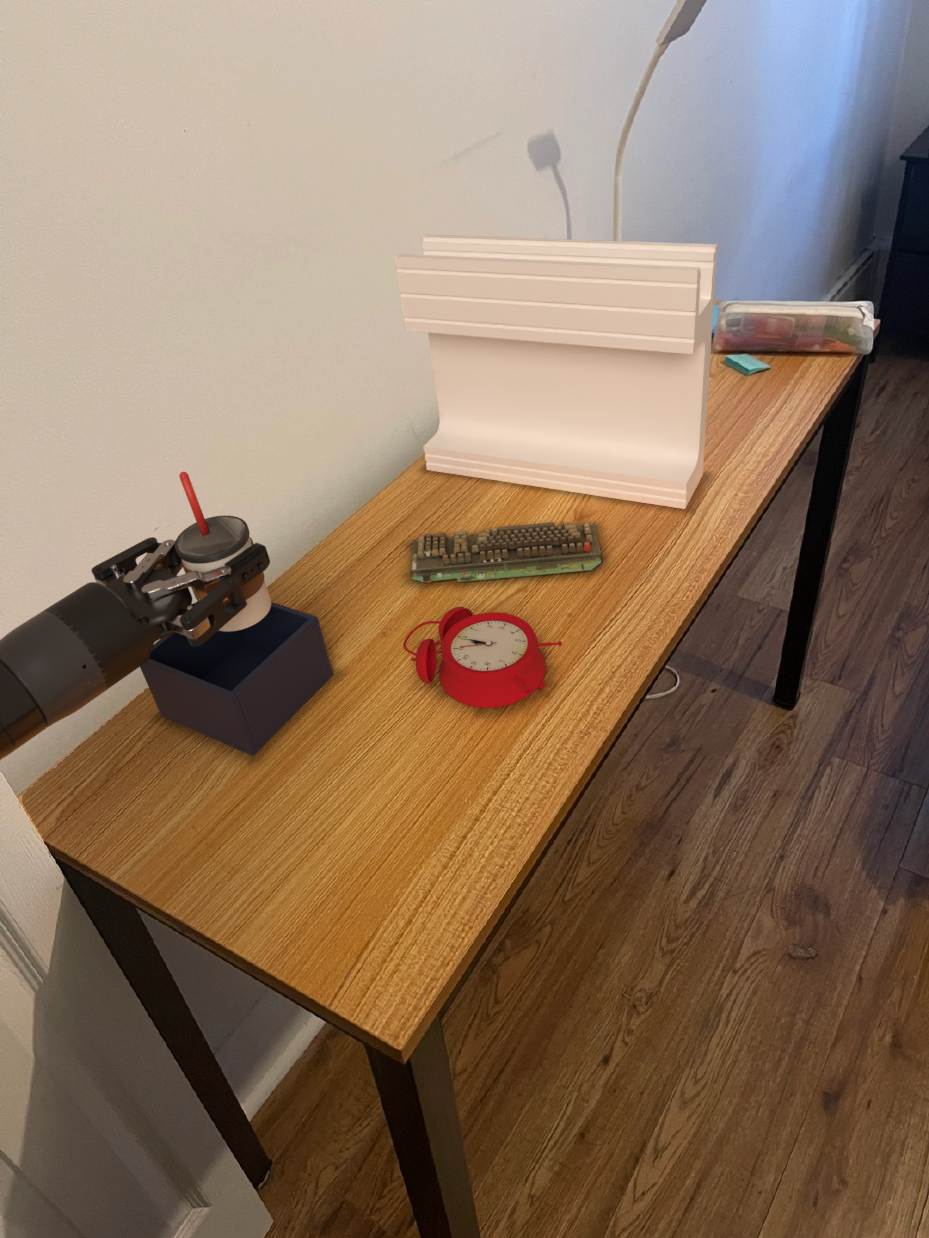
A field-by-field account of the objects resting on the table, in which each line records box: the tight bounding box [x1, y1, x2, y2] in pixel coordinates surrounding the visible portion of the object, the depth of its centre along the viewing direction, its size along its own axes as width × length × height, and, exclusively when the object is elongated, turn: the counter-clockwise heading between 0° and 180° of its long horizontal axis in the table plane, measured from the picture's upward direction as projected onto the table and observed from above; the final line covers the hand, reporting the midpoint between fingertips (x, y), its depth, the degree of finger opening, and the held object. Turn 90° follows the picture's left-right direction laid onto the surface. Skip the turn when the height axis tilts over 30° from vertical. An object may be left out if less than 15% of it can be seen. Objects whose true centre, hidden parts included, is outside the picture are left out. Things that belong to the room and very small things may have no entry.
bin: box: [139, 601, 334, 757], centre depth 89 cm, size 12×12×8 cm
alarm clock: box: [403, 606, 563, 709], centre depth 89 cm, size 10×6×15 cm
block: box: [394, 234, 718, 510], centre depth 109 cm, size 35×8×28 cm, turn 64°
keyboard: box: [409, 521, 604, 584], centre depth 104 cm, size 22×9×2 cm, turn 90°
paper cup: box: [175, 471, 272, 632], centre depth 76 cm, size 6×6×14 cm
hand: (239, 541), depth 78 cm, fingers closed on paper cup, 6 cm apart
